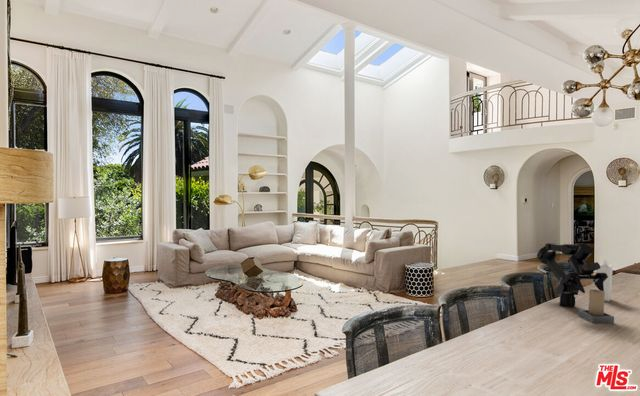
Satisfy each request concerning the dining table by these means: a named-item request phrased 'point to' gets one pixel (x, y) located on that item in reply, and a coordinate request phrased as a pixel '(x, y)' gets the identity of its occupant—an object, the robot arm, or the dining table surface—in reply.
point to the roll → (596, 302)
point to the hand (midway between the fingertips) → (593, 292)
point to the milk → (608, 282)
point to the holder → (596, 317)
